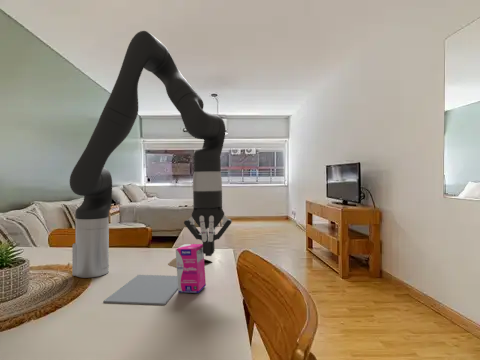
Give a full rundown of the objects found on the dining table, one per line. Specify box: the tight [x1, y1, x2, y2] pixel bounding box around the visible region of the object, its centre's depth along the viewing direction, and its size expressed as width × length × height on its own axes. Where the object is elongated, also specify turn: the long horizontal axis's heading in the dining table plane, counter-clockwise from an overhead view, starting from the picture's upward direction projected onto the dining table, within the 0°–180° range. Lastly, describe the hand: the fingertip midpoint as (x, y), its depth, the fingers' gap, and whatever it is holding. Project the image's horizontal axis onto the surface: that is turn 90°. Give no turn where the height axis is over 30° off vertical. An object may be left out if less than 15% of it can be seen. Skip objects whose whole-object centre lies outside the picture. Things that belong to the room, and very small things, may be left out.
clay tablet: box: [167, 257, 212, 269], centre depth 108 cm, size 14×10×3 cm
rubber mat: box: [102, 274, 178, 306], centre depth 83 cm, size 15×20×1 cm
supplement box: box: [175, 243, 207, 294], centre depth 82 cm, size 6×6×12 cm
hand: (208, 255), depth 82 cm, fingers closed
